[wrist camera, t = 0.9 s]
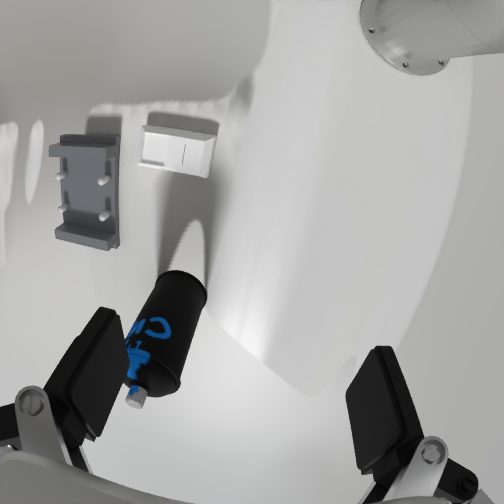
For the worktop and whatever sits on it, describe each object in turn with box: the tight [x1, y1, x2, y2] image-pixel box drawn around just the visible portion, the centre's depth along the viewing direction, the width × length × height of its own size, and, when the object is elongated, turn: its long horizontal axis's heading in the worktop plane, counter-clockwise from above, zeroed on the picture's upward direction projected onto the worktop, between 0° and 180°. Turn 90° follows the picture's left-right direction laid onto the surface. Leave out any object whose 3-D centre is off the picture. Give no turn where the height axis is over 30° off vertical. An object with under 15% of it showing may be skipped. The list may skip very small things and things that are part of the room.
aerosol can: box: [123, 270, 207, 409], centre depth 33 cm, size 8×8×20 cm
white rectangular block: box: [137, 125, 217, 178], centre depth 31 cm, size 5×9×3 cm, turn 77°
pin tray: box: [49, 134, 120, 251], centre depth 33 cm, size 16×10×4 cm, turn 170°
